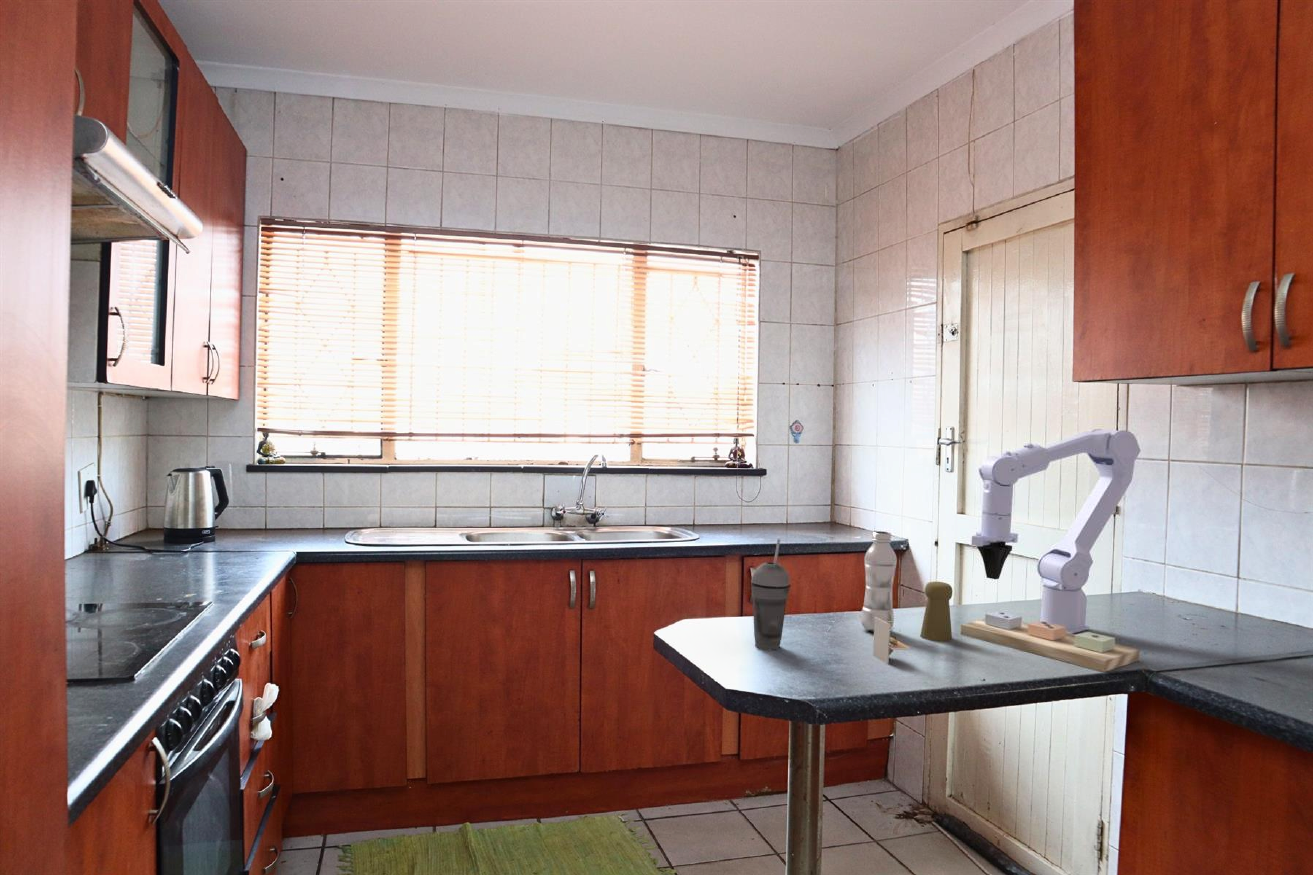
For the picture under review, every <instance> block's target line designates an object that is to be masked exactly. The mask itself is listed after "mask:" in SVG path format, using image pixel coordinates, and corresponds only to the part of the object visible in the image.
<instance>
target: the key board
mask: <svg viewBox="0 0 1313 875" xmlns="http://www.w3.org/2000/svg"><path fill="white" fill-rule="evenodd" d="M1028 624H1030V622H1029V623H1028V622H1024V621H1022V625H1021V627H1017V628H1013V629H1009V630H1008V629H1004V628H1000V627H996V626H992V625H988V624H985V618H984V619H980V620H976V621H971V622H966V623H962V624H961V625H960V635H962V636H966V637H970V638H975V639H978V640H982V641H985V642H990V643H994V644H997V645H999V646H1000V645H1001V646H1005V647H1008V648H1012V649H1014V650H1019V651H1024V652H1026V653H1031V654H1034V655H1038V656H1042V657H1047V658H1049V659H1053V660H1057V661H1060V662H1066V663H1068V664H1073V665H1077V666H1080V667H1084V668H1088V669H1090V670H1095V671H1097V672H1098V671H1099V672H1102V673H1106V672H1108V671H1112V670H1114V669H1117V668H1122V667H1123V666H1126V665H1129V664H1132V663H1135V662H1139V661H1140V652H1141V649H1138V648H1134V647H1130V646H1125V645H1121V644H1117V643H1115V649H1112V650H1109V651H1106V652H1102V653H1101V652H1097V651H1093V650H1089V649H1085V648H1081V647H1077V646H1074V641H1075V635H1076V634H1075V633H1073V634H1071V633H1067V632H1066V637H1065V638H1061V639H1057V640H1049V639H1045V638H1041V637H1037V636H1033V635H1029V634H1028Z"/></svg>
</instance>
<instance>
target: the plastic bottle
mask: <svg viewBox="0 0 1313 875" xmlns="http://www.w3.org/2000/svg"><path fill="white" fill-rule="evenodd" d="M871 541H872V544H871V545H870V547H868V549H867V551H866V552H865V555H864V561H863V562H864V571H865V593H864V599H863V601H864V602H863V606H862V609H861V614H860V620H861V621H860V622H861V626H862V627H863V629H865V630H867V631H871V632H874V625H875V617H877V618H879V619H881V620H883V621H893V623H892V625H891V626H890V631H891V630H892V629H893V628H894V622H895V618H894V615H895V614H894V609H893V586H894V579H895V574H896V567H897V562H898V561H897V560H898V559H897V558H898V557H897V555H896V552H895V551H894V550H893V548H892V546H891V544H890V543H892V532H888V531H882V530H876V531H875V530H874V531H872V538H871Z"/></svg>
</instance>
